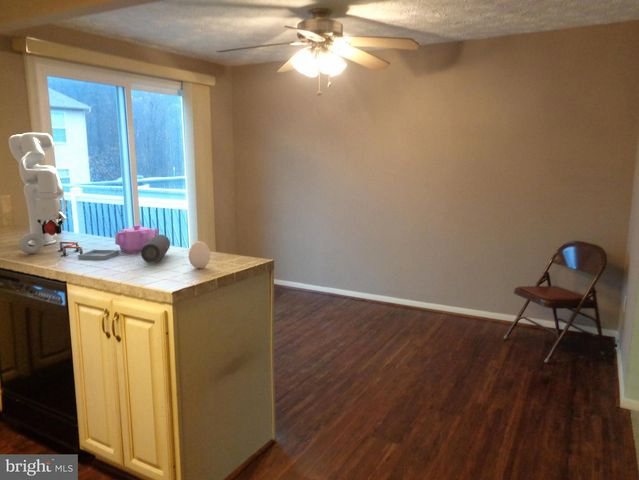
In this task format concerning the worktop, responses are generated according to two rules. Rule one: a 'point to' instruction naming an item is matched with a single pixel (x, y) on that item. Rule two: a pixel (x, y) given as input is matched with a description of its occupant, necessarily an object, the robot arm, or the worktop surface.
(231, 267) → the worktop surface
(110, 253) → the dish
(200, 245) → the egg
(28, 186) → the robot arm
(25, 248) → the donut
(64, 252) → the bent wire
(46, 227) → the onion
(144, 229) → the teakettle
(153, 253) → the bluetooth speaker
